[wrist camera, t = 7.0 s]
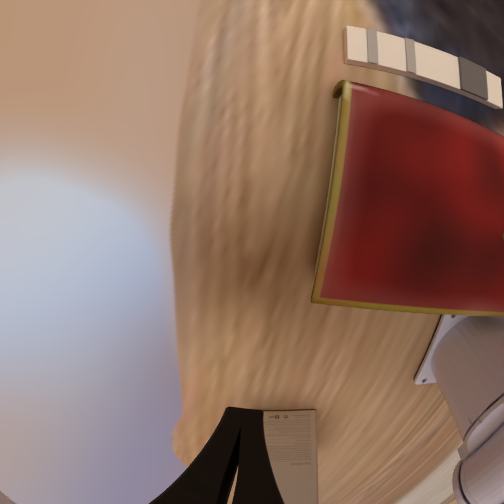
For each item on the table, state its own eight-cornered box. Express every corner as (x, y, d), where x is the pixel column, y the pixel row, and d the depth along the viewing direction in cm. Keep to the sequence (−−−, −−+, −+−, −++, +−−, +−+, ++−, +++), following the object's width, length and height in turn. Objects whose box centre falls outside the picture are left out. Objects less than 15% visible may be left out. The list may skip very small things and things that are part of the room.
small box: (248, 409, 24) (225, 533, 12) (316, 408, 23) (319, 536, 11) (256, 449, 27) (240, 548, 14) (312, 449, 26) (311, 549, 14)
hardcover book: (332, 90, 15) (345, 73, 11) (545, 171, 13) (576, 180, 9) (307, 273, 19) (311, 305, 15) (514, 296, 18) (538, 318, 14)
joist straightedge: (492, 79, 12) (502, 77, 10) (494, 109, 13) (504, 108, 11) (343, 31, 13) (347, 23, 12) (344, 63, 14) (348, 57, 12)
